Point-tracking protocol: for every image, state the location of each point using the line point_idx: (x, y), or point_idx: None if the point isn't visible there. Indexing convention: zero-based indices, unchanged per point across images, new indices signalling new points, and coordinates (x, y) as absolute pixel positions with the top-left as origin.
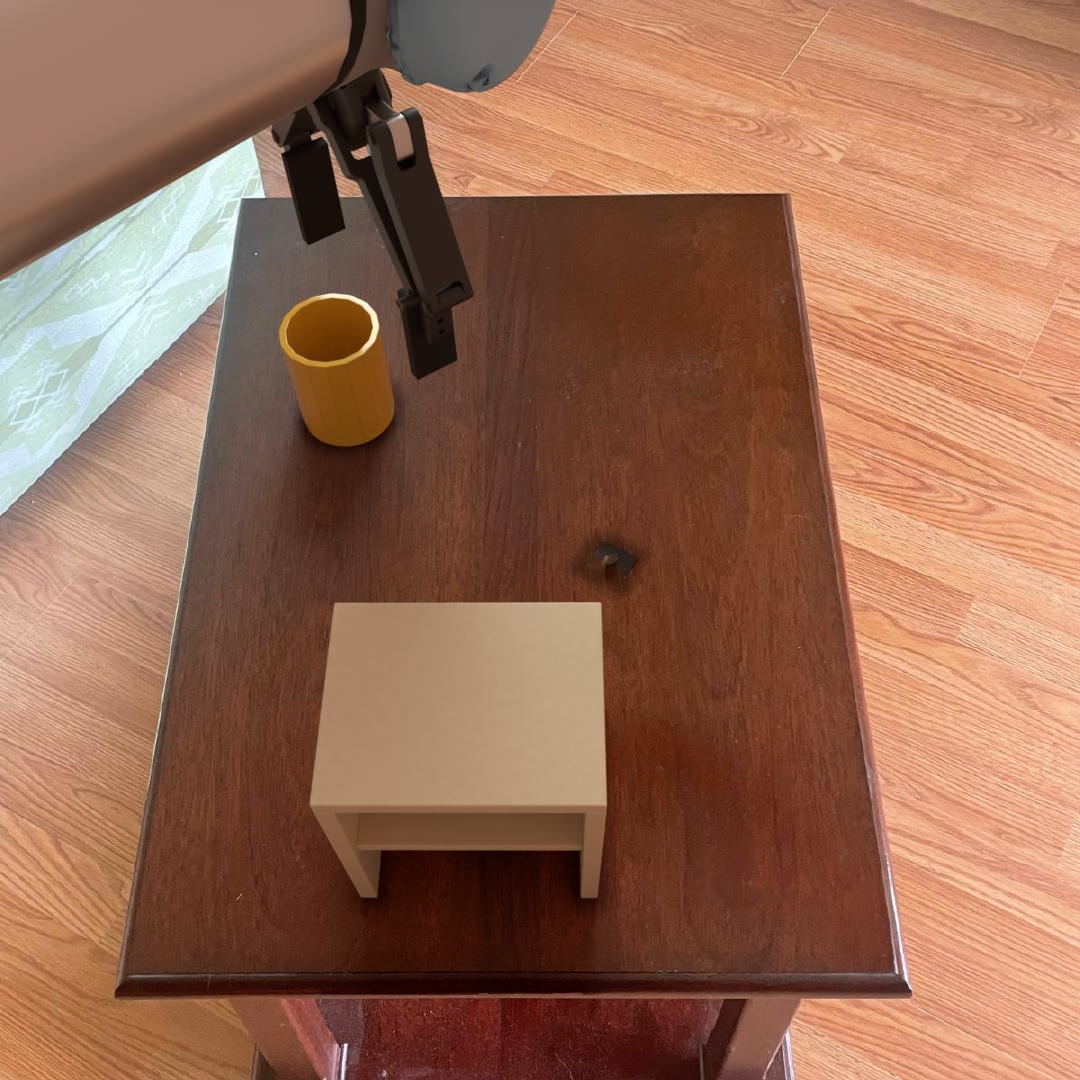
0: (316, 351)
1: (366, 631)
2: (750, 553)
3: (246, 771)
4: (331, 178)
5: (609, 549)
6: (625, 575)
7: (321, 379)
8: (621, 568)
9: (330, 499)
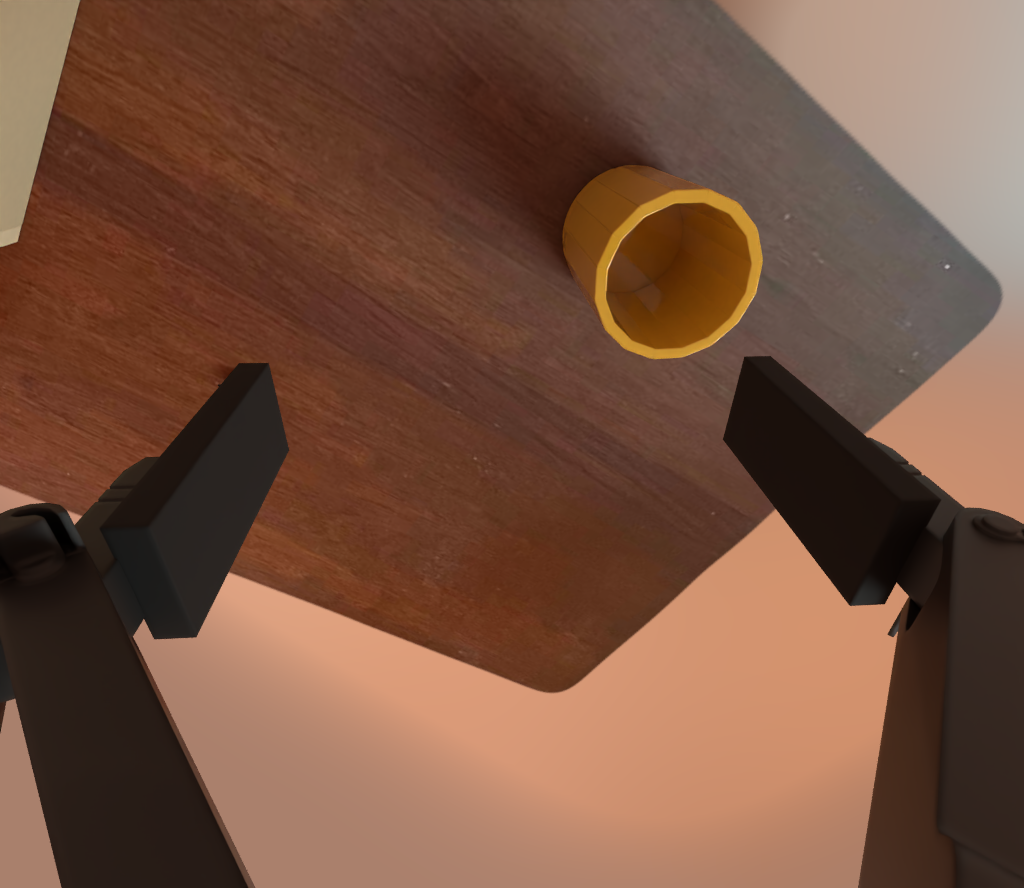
0: (707, 245)
1: None
2: None
3: None
4: (792, 519)
5: None
6: (218, 385)
7: (614, 216)
8: None
9: (508, 125)
